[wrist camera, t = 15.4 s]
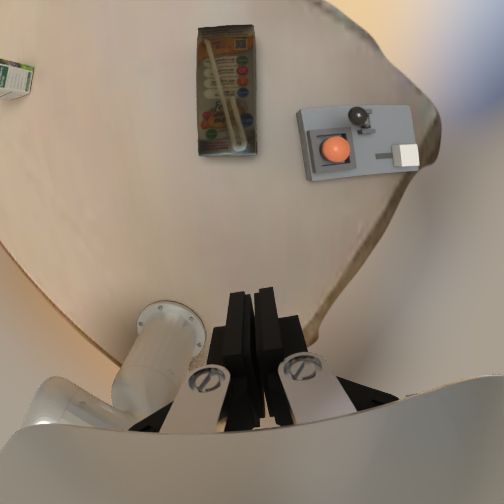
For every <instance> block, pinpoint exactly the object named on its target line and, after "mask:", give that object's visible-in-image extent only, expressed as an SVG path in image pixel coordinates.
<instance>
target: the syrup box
mask: <svg viewBox="0 0 504 504" xmlns="http://www.w3.org/2000/svg"><path fill="white" fill-rule="evenodd" d="M33 70H34V67H31V66H27V65H23V64H20V63H16V62H12V61H8V60H4V59H0V99H10V100H13V99H15V98H18V97H21V96H24V95H27V94H30V86H31V80H32V75H33Z"/></svg>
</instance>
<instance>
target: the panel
mask: <svg viewBox="0 0 504 504" xmlns="http://www.w3.org/2000/svg"><path fill="white" fill-rule="evenodd" d="M355 106H359V107H362V108H363V109H364V110H365V111H366V112H367V115H369V118H370V124H371V128H361V126H356V125H354V124H352V123H351V122H350V121H349V119H348V112H349V110H350V109H351V108H352V107H355ZM355 106H334V107H319V108H308V109H300V110H299V111H298V112H297V113H296V115H297V121H298V127H299V133H300V139H301V145H302V151H303V157H304V164H305V170H306V177H307V180H310V181H319V180H327V179H335V178H343V177H352V176H361V175H371V174H381V173H393V172H405V171H418V166H403V167H401V166H394V161H393V153H392V145H408V144H415V136H414V129H413V122H412V116H411V110H410V106H409V105H355ZM335 136H339V137H342V138H344V139H345V140H346V141H347V142H348V144H349V146H350V154H349V156H348V158H347V159H346V160H344V161H342V162H331V161H327V160H325V159H324V158H323V157H322V155H321V153H320V145H321V143H322V141H323V140H325V139H327V138H331V137H335Z"/></svg>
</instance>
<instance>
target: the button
mask: <svg viewBox="0 0 504 504" xmlns="http://www.w3.org/2000/svg"><path fill="white" fill-rule="evenodd" d="M320 153H321V155H322V157H323V158H324V159H325V160H327V161H331V162H342V161H344V160H346V159H347V158H348V156H349V154H350V146H349V144H348V142H347V141H346V140H345V139H344V138H342V137H339V136H335V137H331V138H327V139H325V140H323V141H322V143H321V145H320Z"/></svg>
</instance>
